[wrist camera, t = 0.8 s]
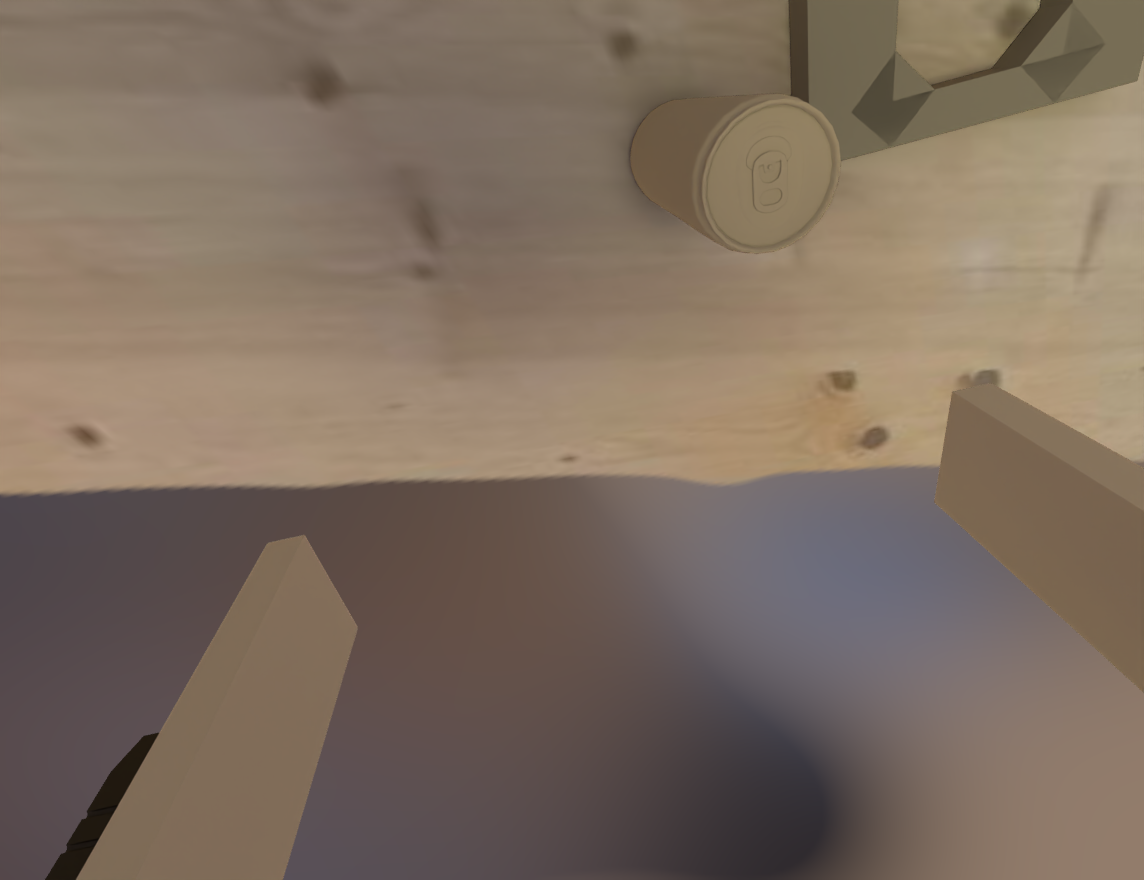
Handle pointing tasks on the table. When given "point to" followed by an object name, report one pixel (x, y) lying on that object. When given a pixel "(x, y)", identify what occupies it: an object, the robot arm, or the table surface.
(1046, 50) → the flat rectangular frame
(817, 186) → the beverage can
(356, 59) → the table surface
